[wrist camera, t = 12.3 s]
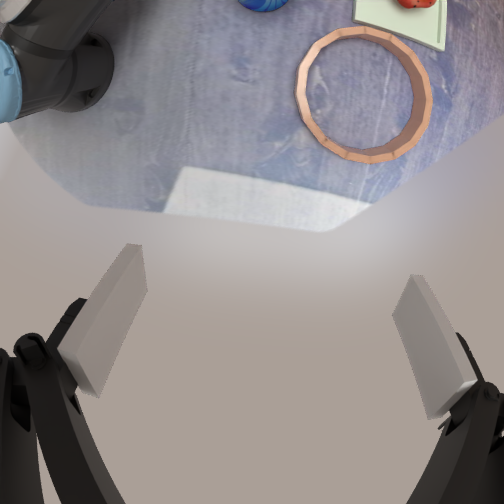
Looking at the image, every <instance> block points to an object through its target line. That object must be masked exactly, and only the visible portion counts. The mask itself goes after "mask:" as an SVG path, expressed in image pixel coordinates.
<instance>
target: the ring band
mask: <svg viewBox="0 0 504 504" xmlns="http://www.w3.org/2000/svg"><path fill="white" fill-rule="evenodd" d="M356 37H358V38H361V39H365V40H369V41H372V42H376V43H379V44H380V45H382V46H383V47H385V48H386V49H387V50H389V51H390V52H391V53H393V54H394V55H395V56H396V57H398V59H399V60H400V62H401V63H402V65H403V66H404V68H405V70H406V71H407V73H408V74H409V76H410V80H411V85H412V89H413V94H414V101H413V107H412V112H411V118H410V119H409V121H408V123H407V124H406V126H405V127H404V129H403V130H402V132H401V133H400V135H398V136H397V137H395V138H394V139H392V140H391V141H389V142H388V143H386V144H385V145H383V146H380V147H375V148H369V149H364V150H361V149H356V148H351V147H346V146H341V145H339V144H338V143H336V142H335V141H333V140H332V139H330V138H328V137H327V136H325V135H324V134H323V132H322V131H321V130H320V128H319V127H318V126H317V124H316V123H315V122H314V120H313V119H312V117H311V113H310V109H309V106H308V102H307V99H306V95H305V90H306V82H307V74H308V68H309V67H310V65H311V64H312V62H313V60H314V59H315V57H316V56H317V54H318V53H319V51H320V49H321V48H323V47H325V46H326V45H328V44H329V43H331V42H333V41H334V40H340V39H348V38H356ZM294 96H295V99H296V102H297V106H298V109H299V113H300V116H301V119H302V120H303V121H304V123H305V124H306V125H307V126H308V128H309V129H310V130H311V132H312V133H313V134H314V136H315V137H316V138H317V140H318V141H319V142H320V143H321V144H322V145H323V146H325V147H327V148H328V149H330V150H331V151H333V152H335V153H336V154H338V155H339V156H341V157H342V158H344V159H347V160H352V161H358V162H363V163H368V164H374V163H379V162H384V161H389V160H394V159H396V158H398V157H399V156H401V155H402V154H404V153H405V152H407V151H408V150H410V149H411V148H413V147H414V146H415V145H416V144H417V142H418V141H419V139H420V138H421V136H422V134H423V133H424V131H425V130H426V128H427V127H428V124H429V119H430V114H431V109H432V103H433V99H432V93H431V88H430V83H429V78H428V74H427V72H426V71H425V69H424V67H423V66H422V64H421V62H420V61H419V59H418V58H417V56H416V54H415V53H414V51H412V50H411V49H410V48H409V47H408V46H406V45H405V44H404V43H402V42H401V41H400V40H399V39H397V38H396V37H395V36H393V35H392V34H390V33H387V32H383V31H380V30H377V29H374V28H370V27H367V26H359V27H349V28H341V29H336V30H335V31H333V32H331V33H330V34H328V35H326V36H325V37H323V38H321V39H320V40H318V41H317V42H315V43H314V44H313V45H311V46H310V48H309V49H308V51H307V52H306V54H305V56H304V57H303V59H302V60H301V62H300V64H299V65H298V67H297V71H296V79H295V87H294Z"/></svg>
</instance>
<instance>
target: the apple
mask: <svg viewBox="0 0 504 504" xmlns="http://www.w3.org/2000/svg"><path fill="white" fill-rule="evenodd" d="M397 1H398V2H399V3H400V4H401V5H402V6H403V7H404V8H407V9H411V8H429V7H431V6H432V5H435V2H436V1H437V0H397Z"/></svg>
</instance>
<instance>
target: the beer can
mask: <svg viewBox="0 0 504 504" xmlns="http://www.w3.org/2000/svg"><path fill="white" fill-rule="evenodd" d="M238 1H239V2H240V3H241V4H242V5H243V6H245V7H247V8H249V9H251V10H255V11H271V10H275V9H277V8H279V7H281V6H283V5H284V4H285V3H286V2H287V1H288V0H238Z"/></svg>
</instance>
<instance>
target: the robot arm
mask: <svg viewBox="0 0 504 504" xmlns="http://www.w3.org/2000/svg"><path fill="white" fill-rule="evenodd" d="M112 1H114V0H0V22H2V23H6V24H7V25H6V27H5V28H4V30H3V32H2V34H1V36H0V123H4V122H11V121H13V120H16V119H19V118H21V117H24V116H27V115H30V114H33V113H36V112H40V111H43V110H46V109H50V108H51V109H55V110H58V111H62V112H76V111H80V110H84V109H86V108H88V107H90V106H92V105H93V104H95V103H96V102H97V101H98V100H99V99H100V98H101V97H102V96H103V94H104V93H105V91H106V90H107V88H108V86H109V84H110V81H111V79H112V75H113V70H114V57H113V53H112V50H111V47H110V45H109V44H108V42H107V41H106V40H105V39H104V38H103V37H101V36H100V35H98V34H95V33H89V32H88V30H89V29H90V28H91V26H92V25H93V24H94V22H95V21H96V20H97V19H98V17H99V16H100V15H101V14H102V12H103V11H104V10H105V9H106V8H107V6H108V5H109V4H110V3H111V2H112ZM146 293H147V284H146V277H145V270H144V262H143V253H142V245H135V244H126V246H125V247H124V248H123V250H122V251H121V252H120V254H119V255H118V257H117V258H116V259H115V261H114V262H113V263H112V265H111V266H110V268H109V269H108V270H107V272H106V273H105V275H104V276H103V278H102V279H101V280H100V282H99V284H98V285H97V287H96V288H95V289H94V291H93V292H92V294H91V295H90V297H89V298H88V299H83V298H78V299H77V300H76V301H75V302H73V303H72V304H71V305H70V306H69V307H68V309H67V310H66V312H65V313H64V315H63V316H62V318H61V319H60V322H59V323H58V324H57V325H56V327H55V328H54V330H53V332H52V334H51V335H50V336H49V338H48V340H47V341H46V343H45V341H44V339H43V338H42V336H40V335H39V334H36V333H28V334H25V335H23V336H21V337H20V338H19V339H18V340H17V342H16V343H15V345H14V351H13V352H14V354H15V355H16V357H9V355H8V354H7V352H6V351H5V350H4V349H2V348H0V504H44V499H43V494H42V488H41V480H40V472H39V464H38V452H37V437H38V440H39V444H40V447H41V450H42V453H43V457H44V460H45V463H46V466H47V468H48V471H49V474H50V477H51V479H52V482H53V484H54V487H55V490H56V492H57V494H58V497H59V499H60V501H61V504H125V502H124V500H123V498H122V497H121V495H120V493H119V491H118V490H117V488H116V486H115V484H114V482H113V480H112V478H111V476H110V474H109V472H108V470H107V468H106V466H105V464H104V462H103V460H102V458H101V456H100V454H99V451H98V449H97V447H96V445H95V442H94V440H93V438H92V435H91V433H90V430H89V428H88V425H87V423H86V421H85V418H84V415H83V412H82V410H81V407H80V404H79V401H78V398H77V396H76V394H75V390H76V388H77V386H79V388H80V389H81V391H82V392H83V393H85V394H88V395H91V396H94V397H97V398H99V397H100V394H101V392H102V390H103V387H104V385H105V383H106V380H107V378H108V375H109V373H110V371H111V368H112V366H113V364H114V361H115V359H116V357H117V355H118V352H119V350H120V348H121V346H122V343H123V341H124V339H125V337H126V335H127V333H128V330H129V328H130V326H131V324H132V322H133V320H134V317H135V315H136V313H137V311H138V309H139V307H140V305H141V303H142V301H143V299H144V297H145V295H146ZM392 316H393V319H394V321H395V324H396V326H397V329H398V331H399V334H400V337H401V339H402V342H403V344H404V347H405V350H406V353H407V355H408V358H409V361H410V364H411V367H412V370H413V373H414V376H415V378H416V382H417V385H418V388H419V391H420V394H421V398H422V401H423V404H424V407H425V411H426V414H427V418H428V420H430V419H435V418H441V417H442V416H443V415H444V414H445V413H446V412H447V411H450V413H451V416H450V417H449V418H447V419H446V420H445V421H444V422H443V423H442V424H441V425H440V426H439V427H438V429H441V428H442V427H443V426H444V425H445V426H444V429H443V430H442V433H441V436H440V438H439V441H438V443H437V445H436V448H435V450H434V452H433V454H432V456H431V458H430V460H429V463H428V465H427V467H426V469H425V471H424V473H423V475H422V476H421V479H420V480H419V482H418V484H417V486H416V488H415V489H414V491H413V493H412V495H411V496H410V498H409V500H408V501H407V503H406V504H504V436H503V437H502V431H504V394H503V393H500V392H499V390H498V388H497V387H496V386H495V385H494V384H493V383H490V382H485V381H484V378H483V376H482V374H481V372H480V369H479V367H478V365H477V363H476V361H475V359H474V357H473V355H472V353H471V351H469V347H468V345H467V343H466V341H465V340H464V338H463V337H462V336H461V335H460V334H459V333H455V331H454V329H453V327H452V326H451V324H450V322H449V320H448V318H447V316H446V315H445V313H444V311H443V309H442V307H441V306H440V304H439V302H438V300H437V299H436V297H435V295H434V293H433V292H432V290H431V288H430V287H429V285H428V283H427V282H426V280H425V278H424V277H423V276H421V275H410V278H409V280H408V282H407V285H406V287H405V289H404V291H403V293H402V296H401V298H400V300H399V302H398V304H397V306H396V308H395V310H394V312H393V314H392ZM36 433H37V436H36Z"/></svg>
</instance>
